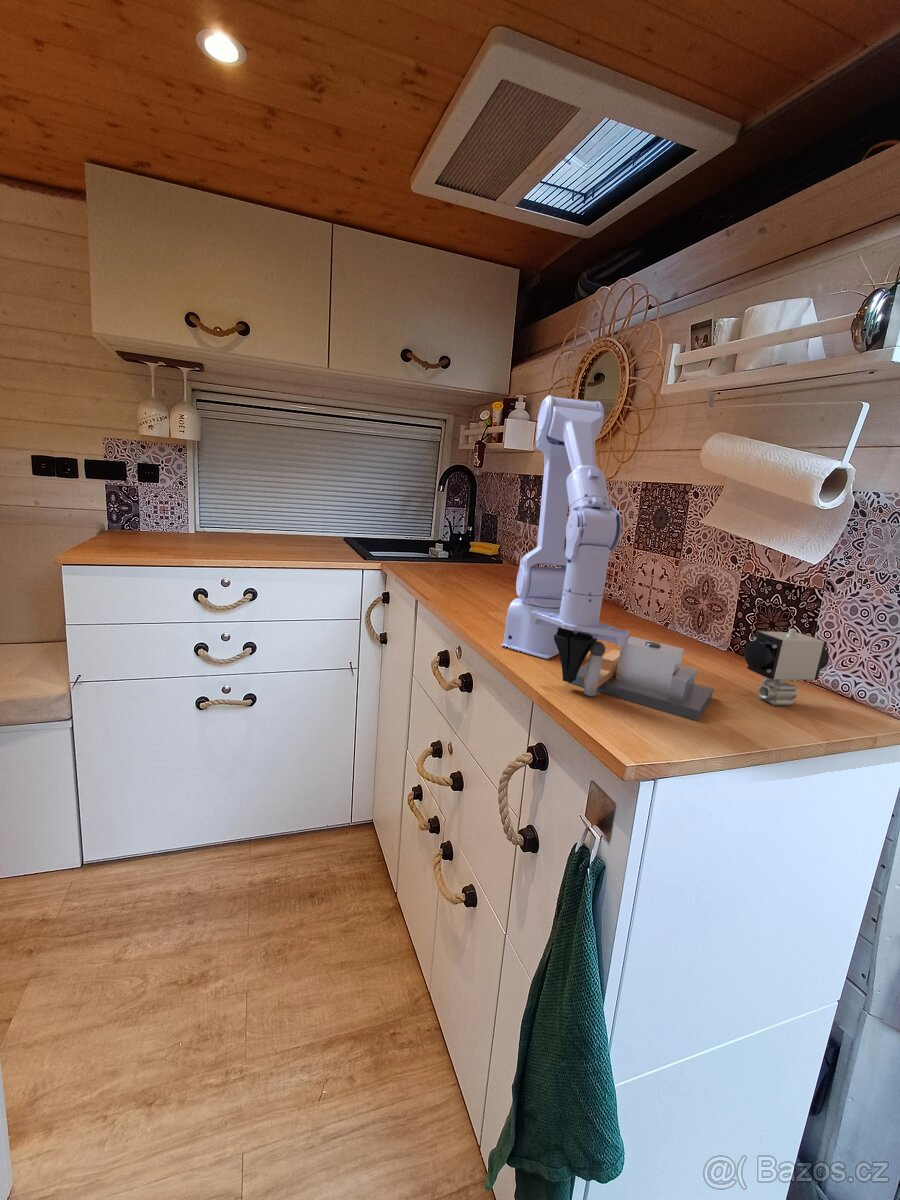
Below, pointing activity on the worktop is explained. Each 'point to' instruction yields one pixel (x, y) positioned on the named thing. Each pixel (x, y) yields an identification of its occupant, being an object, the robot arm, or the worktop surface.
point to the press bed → (660, 693)
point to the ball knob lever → (600, 667)
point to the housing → (648, 664)
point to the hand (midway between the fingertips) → (569, 680)
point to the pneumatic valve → (785, 662)
